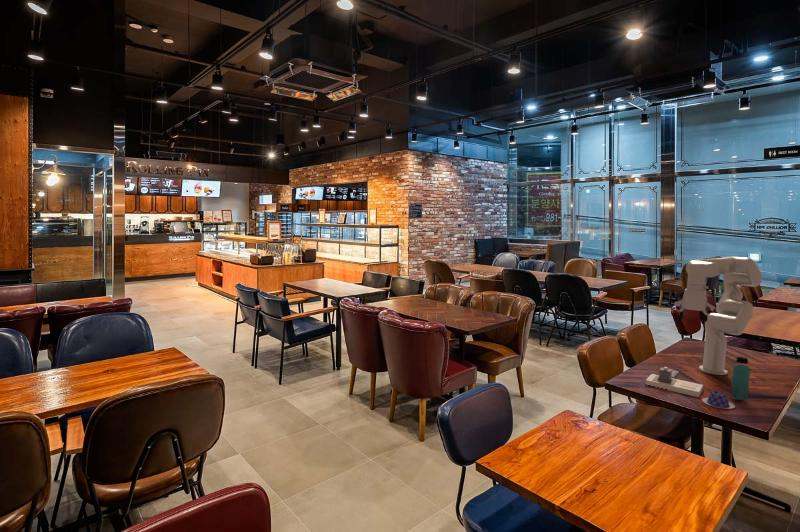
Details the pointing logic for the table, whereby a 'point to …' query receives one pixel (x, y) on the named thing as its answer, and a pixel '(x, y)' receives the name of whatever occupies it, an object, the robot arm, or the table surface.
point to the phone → (674, 373)
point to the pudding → (718, 400)
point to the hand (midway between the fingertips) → (692, 321)
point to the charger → (665, 374)
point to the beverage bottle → (740, 379)
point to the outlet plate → (676, 385)
